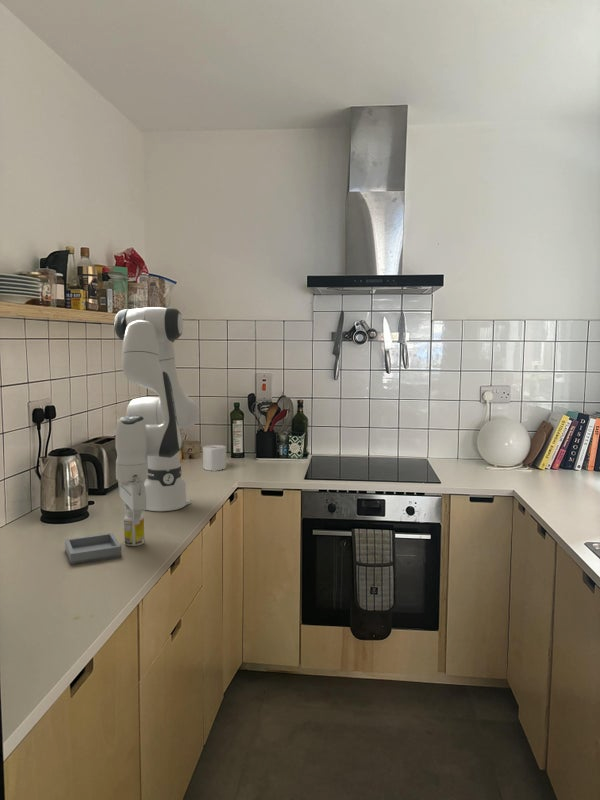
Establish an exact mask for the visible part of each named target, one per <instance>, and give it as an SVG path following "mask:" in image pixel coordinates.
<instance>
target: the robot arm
mask: <svg viewBox="0 0 600 800" xmlns="http://www.w3.org/2000/svg"><path fill="white" fill-rule="evenodd" d="M113 323H114V324H113V325H114V331H115V334H116V336H117V338H119V339H120V341H122V347H121V348H122V349H121V368H122V373H123V375H124V376H125V378H127V380H128V381H130V382H131V383H132V384H133V383H134V384H135V385H138V386H140V387H142V388H146V389H148V390H150V391H153V392H154V393H155V394H157V395H158V396H142V397H138V398H137V397H136V398H133V399H131V401H130V402H129V403H128V405H127V408H126V415H124V416H122V417H120V418H118V419H117V422H116V430H115V435H114V445H115V446H114V448H115V451H116V455H117V456H116V460H115V479H116V480H117V484H118V492H119V497H120V498H121V500H123V502H124V507H125V516H126V515H127V514H126V513H127V509H129V508H130V509H131V510H132V511H133V524H134V525H139V524H140V516H141V514H142V512H145V511H150V512H151V511H152V512H171V511H175V510H179V509H182V508H184V507H186V506H187V505H191V503H192V500H190V499H188V498H187V485H186V480H184V479H183V478H182V471H183V470H182V466H181V462H180V461H181V460H180V459H181V458H180V457H181V456H180V455H181V454H180V453H181V452H180V451H181V449H182V435H181V432H180V429H187V428H192V427H193V426H195V425H196V423H197V422H198V420H199V416H200V409H199V406H198V404H197V403H196V401H195V400H194V399H192V397H190V396H189V395H188V394H187V393H186V392H185V391H184V390H183V387H182V386H181V384H180V382H179V379H178V376H177V367H176V355H175V347H174V342H175V340H178V339H179V338H180V337H181V336H182V334H183V331H184V327H185V326H184V325H185V324H184V323H185V322H184V318H183V316H182V313H181V312H180V311H179V309H177V308H174V307H168V306H167V308H166V307H158V306H157V307H156V306H155V307H153V306H151V307H149V306H148V307H141V308H138V307H137V308H131V309H129V308H126V309H125V308H124V309H122V310H119V311H118V312H117V313H116V314H115V316H114V322H113ZM144 480H145V481H144Z"/></svg>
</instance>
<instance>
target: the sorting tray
mask: <svg viewBox="0 0 600 800" xmlns="http://www.w3.org/2000/svg"><path fill="white" fill-rule="evenodd" d="M64 547H65V553H66V555H67V558H68V561H69V564H70V565H71V566H73V565H81V564H87V563H92V562H93V563H94V562H99V561H106V560H112V559H118V558H122V555H123V554H122V545H121V543H120V542H119V541H118V539H117V538H116V535H115V534H114V533H113V532H110V533H102V534H95V535H89V536H88V535H87V536H80V537H74V538H68V539H67V538H66V539H64Z"/></svg>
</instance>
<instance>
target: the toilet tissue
mask: <svg viewBox="0 0 600 800" xmlns="http://www.w3.org/2000/svg"><path fill="white" fill-rule="evenodd" d="M225 468H226V469H227V446H226V445H222V444H220V445H219V444H211V445H204V446H202V469H203V470H204V469H205V470H204V471H211V470H212V471H211V472H216V471H223V470H226V469H225ZM222 469H223V470H222Z"/></svg>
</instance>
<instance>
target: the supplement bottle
mask: <svg viewBox="0 0 600 800" xmlns="http://www.w3.org/2000/svg"><path fill="white" fill-rule="evenodd" d="M126 514H127V515H126ZM123 517H124V518H123V530H124V535H123V536H124V544H125V545H126V546H128V547H138V546H141V545H143V544H144V543H145V519H144V518H145V517H144V515H143V514H142V513H141V516H140V524H139V525H134V524H133V511H132V510H131V509H130V508H129V509H127V513H126V512H125V516H123Z"/></svg>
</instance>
